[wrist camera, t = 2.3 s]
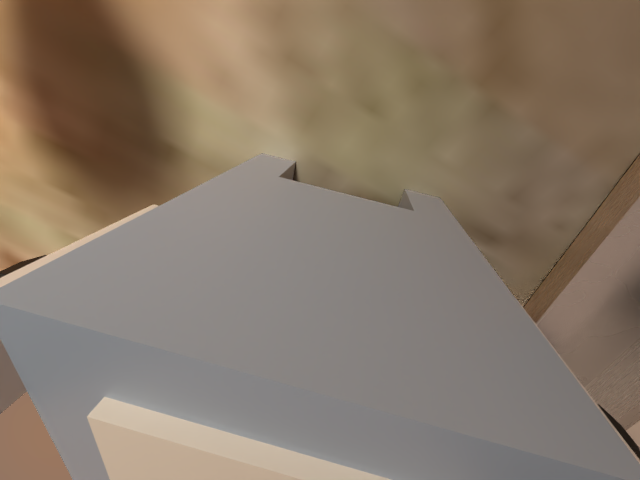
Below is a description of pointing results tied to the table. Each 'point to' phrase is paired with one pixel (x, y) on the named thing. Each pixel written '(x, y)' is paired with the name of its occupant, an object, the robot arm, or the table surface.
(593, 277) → the grey block holder
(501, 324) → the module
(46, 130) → the table surface
